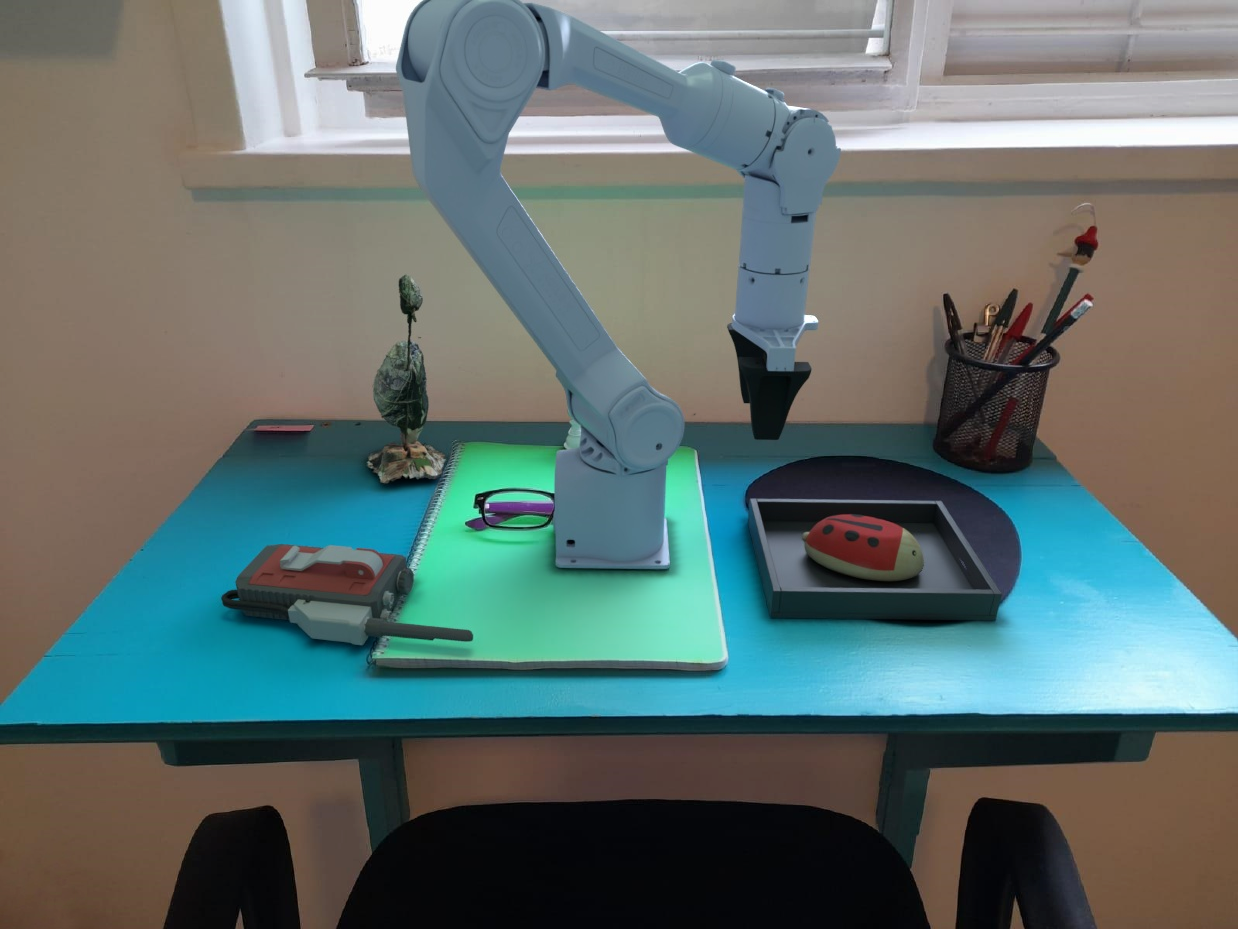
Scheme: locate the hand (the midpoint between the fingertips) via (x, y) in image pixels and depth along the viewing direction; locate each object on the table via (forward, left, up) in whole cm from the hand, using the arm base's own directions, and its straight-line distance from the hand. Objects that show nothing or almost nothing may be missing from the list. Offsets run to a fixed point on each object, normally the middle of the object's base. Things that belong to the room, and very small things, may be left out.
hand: (759, 419), depth 76 cm
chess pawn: (-23, 0, -10) cm, 25 cm away
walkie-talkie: (-32, -16, -10) cm, 37 cm away
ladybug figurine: (+8, -9, -9) cm, 15 cm away
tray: (+8, -9, -9) cm, 15 cm away
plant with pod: (-34, +9, -10) cm, 36 cm away
